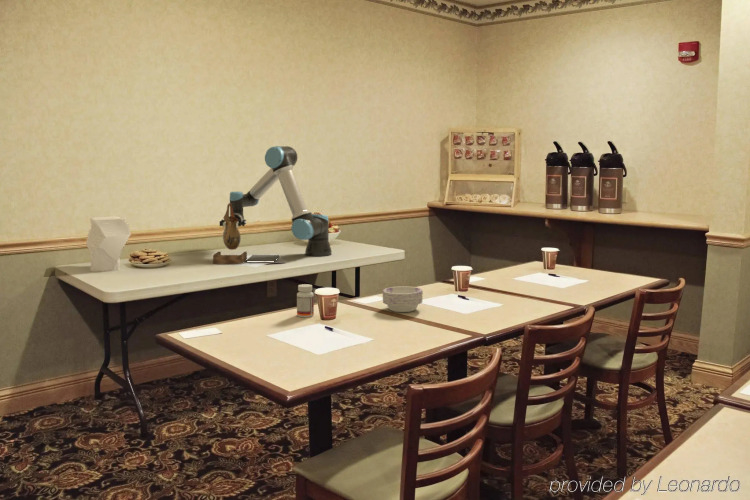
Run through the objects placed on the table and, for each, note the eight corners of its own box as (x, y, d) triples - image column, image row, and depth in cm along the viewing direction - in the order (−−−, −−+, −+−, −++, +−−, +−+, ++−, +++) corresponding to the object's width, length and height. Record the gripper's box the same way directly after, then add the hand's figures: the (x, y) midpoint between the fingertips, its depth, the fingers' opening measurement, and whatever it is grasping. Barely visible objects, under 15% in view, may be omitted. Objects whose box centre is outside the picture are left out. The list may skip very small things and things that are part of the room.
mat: (279, 257, 380) (279, 254, 380) (274, 262, 362) (274, 260, 362) (252, 256, 380) (252, 254, 380) (246, 262, 362) (246, 260, 362)
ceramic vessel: (245, 250, 364) (242, 203, 360) (229, 251, 359) (226, 204, 355) (235, 246, 378) (232, 201, 374) (219, 248, 373) (216, 202, 369)
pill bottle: (306, 312, 254) (305, 283, 252) (317, 315, 249) (317, 285, 248) (293, 315, 249) (293, 285, 247) (304, 318, 245) (304, 287, 243)
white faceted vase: (87, 273, 328) (84, 220, 324) (87, 264, 352) (84, 215, 349) (133, 270, 336) (130, 219, 332) (130, 262, 361) (127, 214, 357)
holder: (247, 259, 370) (246, 251, 369) (242, 263, 357) (242, 255, 357) (218, 259, 370) (218, 251, 369) (213, 263, 357) (212, 255, 357)
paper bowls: (381, 305, 266) (381, 285, 265) (419, 305, 267) (420, 285, 266) (383, 314, 251) (384, 293, 250) (424, 314, 252) (425, 293, 251)
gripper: (252, 227, 386) (248, 232, 363) (218, 227, 384) (212, 232, 361) (251, 213, 384) (248, 218, 362) (217, 214, 383) (212, 218, 360)
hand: (230, 225), depth 361 cm, fingers closed on ceramic vessel, 6 cm apart
